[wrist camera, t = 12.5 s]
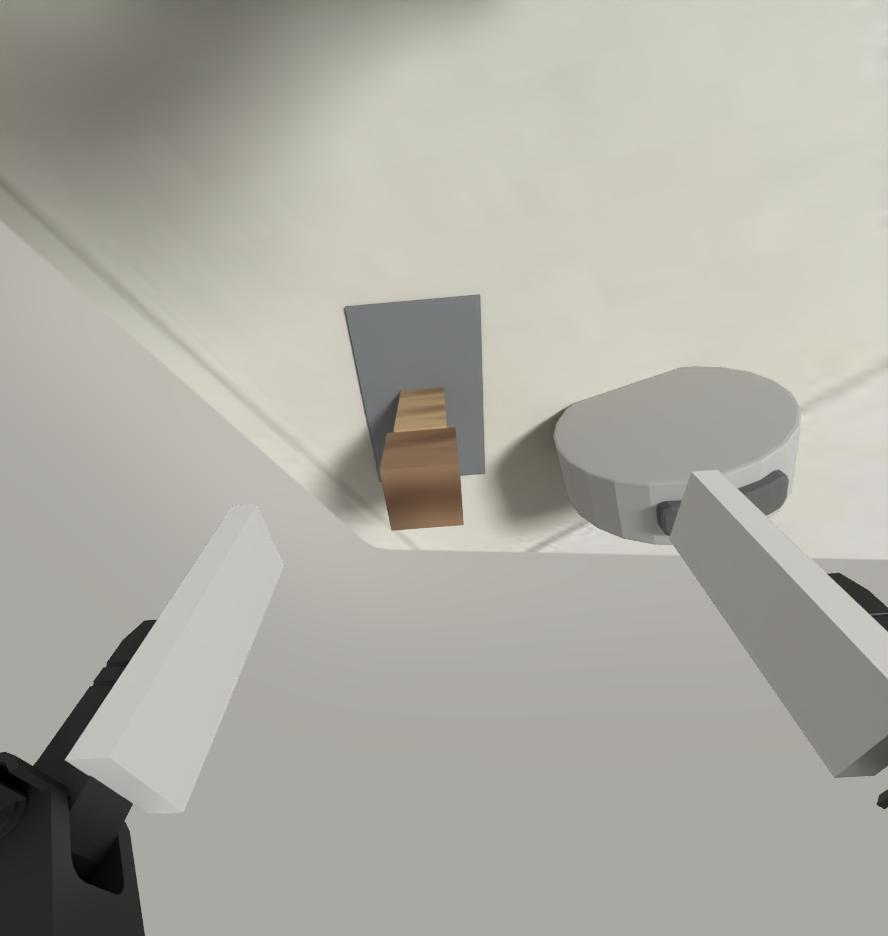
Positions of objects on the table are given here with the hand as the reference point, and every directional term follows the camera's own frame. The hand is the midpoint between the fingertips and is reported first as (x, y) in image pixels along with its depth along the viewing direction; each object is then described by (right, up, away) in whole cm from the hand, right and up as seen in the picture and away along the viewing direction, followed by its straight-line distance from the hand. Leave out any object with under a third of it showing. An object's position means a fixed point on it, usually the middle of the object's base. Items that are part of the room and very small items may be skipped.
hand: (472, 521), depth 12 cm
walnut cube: (-3, +3, +27) cm, 27 cm away
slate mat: (-3, +10, +34) cm, 36 cm away
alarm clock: (+22, +9, +36) cm, 43 cm away
